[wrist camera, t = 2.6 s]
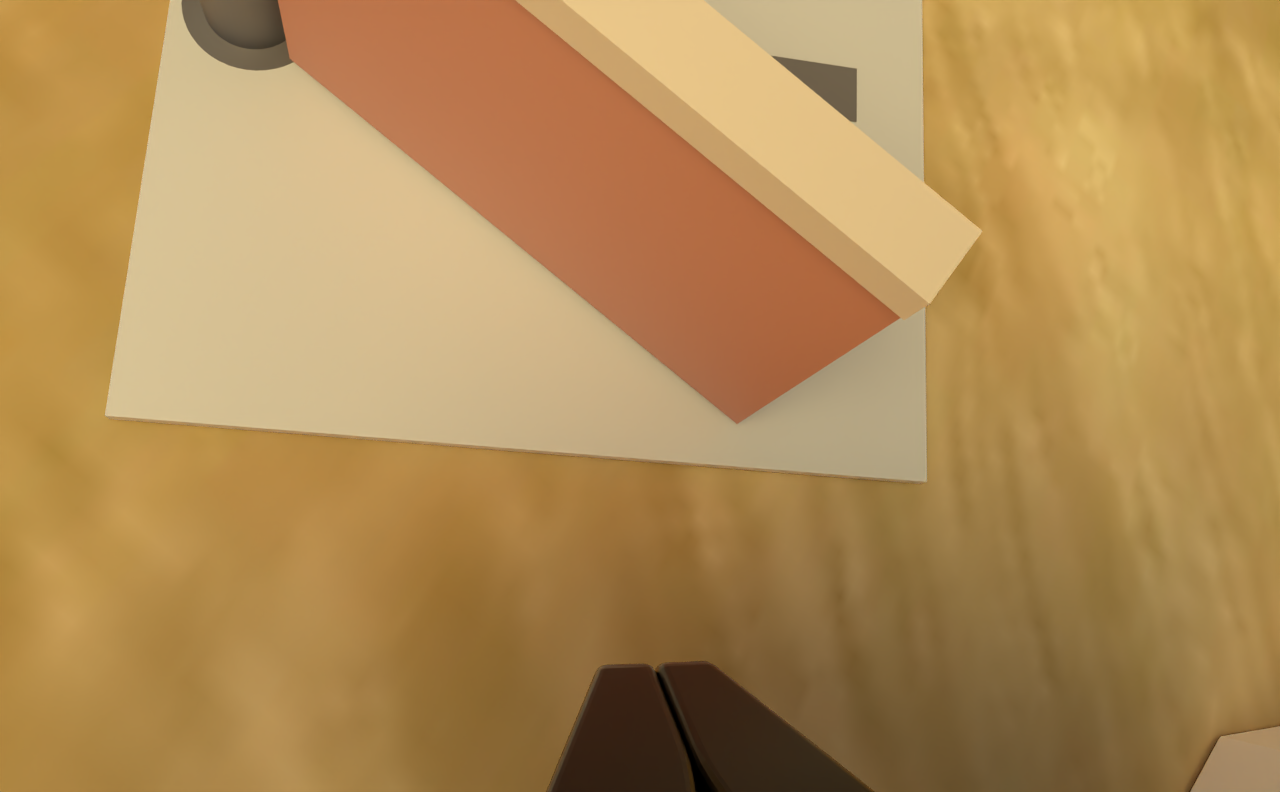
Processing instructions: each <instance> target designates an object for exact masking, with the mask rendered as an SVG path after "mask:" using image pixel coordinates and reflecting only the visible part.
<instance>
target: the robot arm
mask: <svg viewBox="0 0 1280 792" xmlns="http://www.w3.org/2000/svg"><path fill="white" fill-rule="evenodd" d="M546 792H875V791H873V790H872V789H871V788H869V787H868V786H867V785H866V784H864V783H863V782H862V781H861V780H859V779H858V778H857V777H856V776H854V775H853V774H852V773H851V772H849V771H848V770H847V769H845V768H844V767H843V766H842V765H840V764H839V763H838V762H837V761H835V760H834V759H833V758H832V757H830V756H829V755H828V754H826V753H825V752H824V751H823V750H821V749H820V748H819V747H818V746H816V745H815V744H814V743H813V742H811V741H810V740H809V739H807V738H806V737H805V736H804V735H802V734H801V733H800V732H799V731H797V730H796V729H795V728H794V727H792V726H791V725H790V724H788V723H787V722H786V721H785V720H783V719H782V718H781V717H780V716H778V715H777V714H776V713H775V712H773V711H772V710H771V709H769V708H768V707H767V706H766V705H764V704H763V703H762V702H761V701H759V700H758V699H757V698H756V697H754V696H753V695H752V694H750V693H749V692H748V691H747V690H745V689H744V688H743V687H742V686H740V685H739V684H738V683H737V682H735V681H734V680H733V679H731V678H730V677H729V676H728V675H726V674H725V673H724V672H723V671H721V670H720V669H719V668H718V667H716V666H715V665H712V664H711V663H709V662H705V661H695V662H669V663H662V664H660V665H659V666H658V667H657V668H656V670H654V669H653V667H652V666H650V665H648V664H644V663H643V664H616V665H603V666H601V667H599V668H598V670H597V671H596V673H595V675H594V677H593V680H592V682H591V684H590V687H589V689H588V692H587V694H586V697H585V699H584V701H583V704H582V706H581V709H580V711H579V713H578V716H577V718H576V721H575V723H574V726H573V728H572V730H571V733H570V735H569V738H568V740H567V742H566V745H565V747H564V750H563V752H562V755H561V757H560V759H559V762H558V764H557V767H556V769H555V771H554V774H553V776H552V779H551V781H550V784H549V786H548V788H547V791H546Z"/></svg>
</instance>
